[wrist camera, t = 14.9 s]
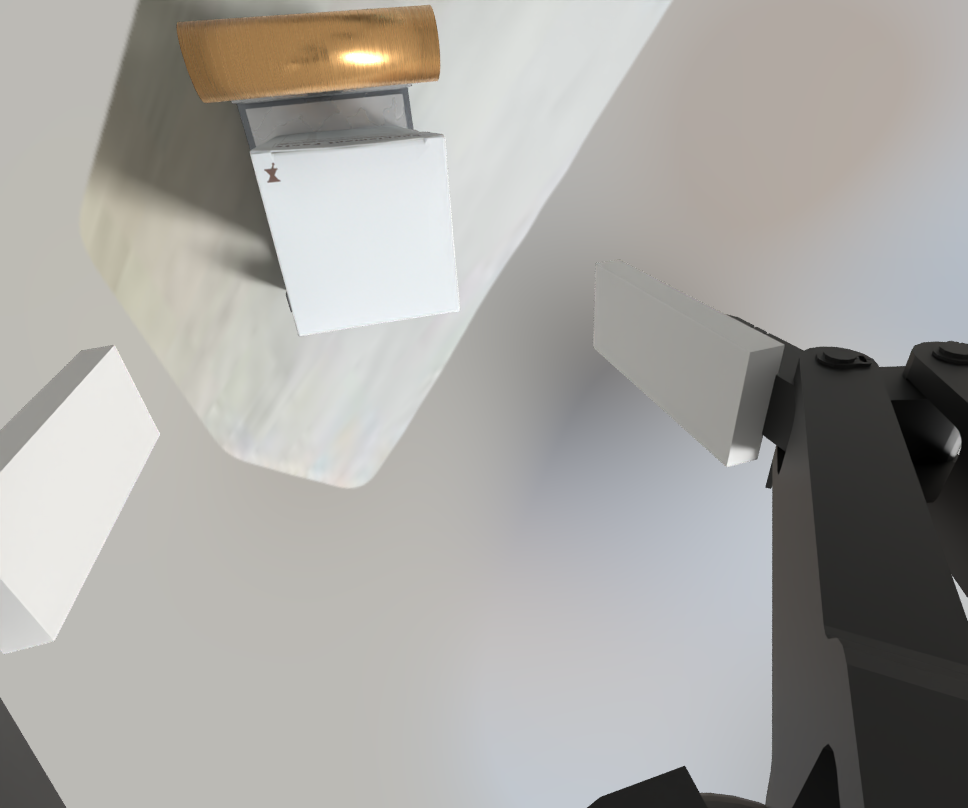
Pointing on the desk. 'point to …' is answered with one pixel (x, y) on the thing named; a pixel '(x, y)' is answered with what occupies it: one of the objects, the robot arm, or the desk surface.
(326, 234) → the supplement box
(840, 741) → the robot arm
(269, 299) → the desk surface
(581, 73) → the desk surface
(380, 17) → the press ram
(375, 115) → the press bed
